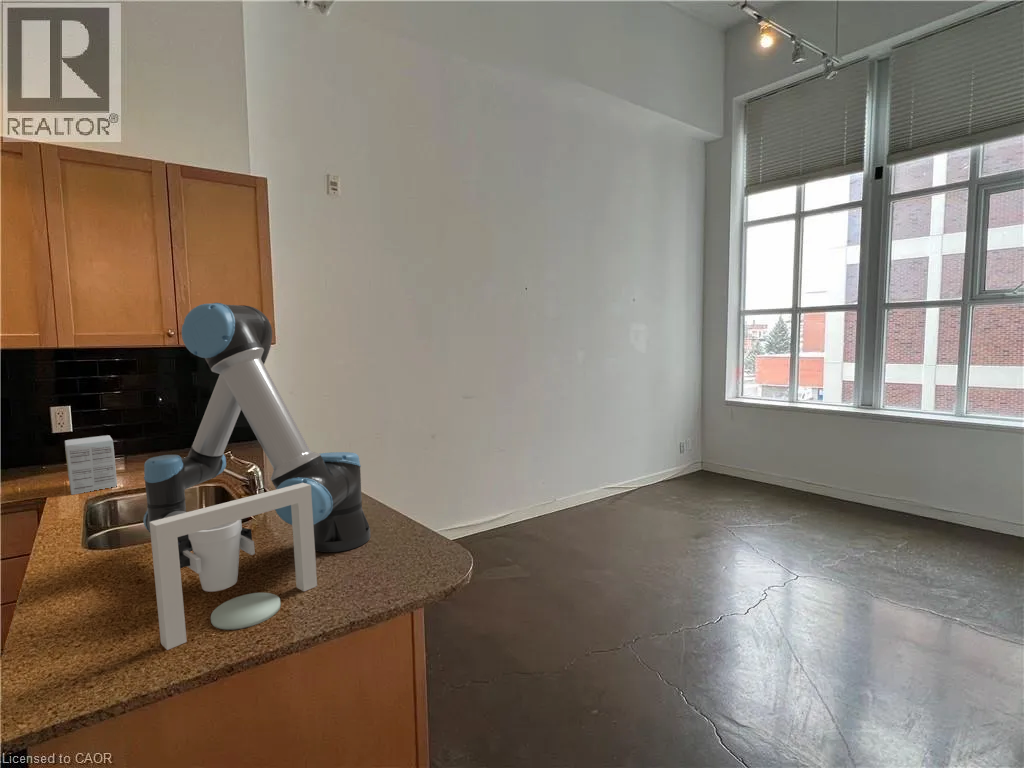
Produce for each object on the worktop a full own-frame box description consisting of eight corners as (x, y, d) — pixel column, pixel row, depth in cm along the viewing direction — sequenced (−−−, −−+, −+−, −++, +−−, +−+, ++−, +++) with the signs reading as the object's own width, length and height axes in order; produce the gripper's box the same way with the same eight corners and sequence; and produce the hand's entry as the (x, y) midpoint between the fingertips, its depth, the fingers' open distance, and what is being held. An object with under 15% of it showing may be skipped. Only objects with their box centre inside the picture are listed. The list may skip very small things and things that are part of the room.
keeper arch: (298, 576, 116) (292, 479, 113) (329, 592, 108) (322, 488, 106) (152, 634, 94) (140, 516, 92) (177, 660, 86) (165, 531, 84)
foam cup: (253, 572, 112) (249, 514, 111) (231, 594, 103) (227, 530, 101) (208, 574, 112) (204, 515, 110) (183, 596, 103) (177, 532, 101)
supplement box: (69, 487, 189) (64, 439, 187) (114, 480, 198) (110, 434, 196) (70, 495, 179) (65, 445, 178) (118, 487, 188) (113, 439, 186)
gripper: (235, 532, 127) (281, 555, 113) (126, 564, 110) (164, 597, 96) (233, 502, 126) (279, 522, 112) (123, 530, 109) (161, 558, 95)
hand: (226, 556), depth 104 cm, fingers closed on foam cup, 9 cm apart
